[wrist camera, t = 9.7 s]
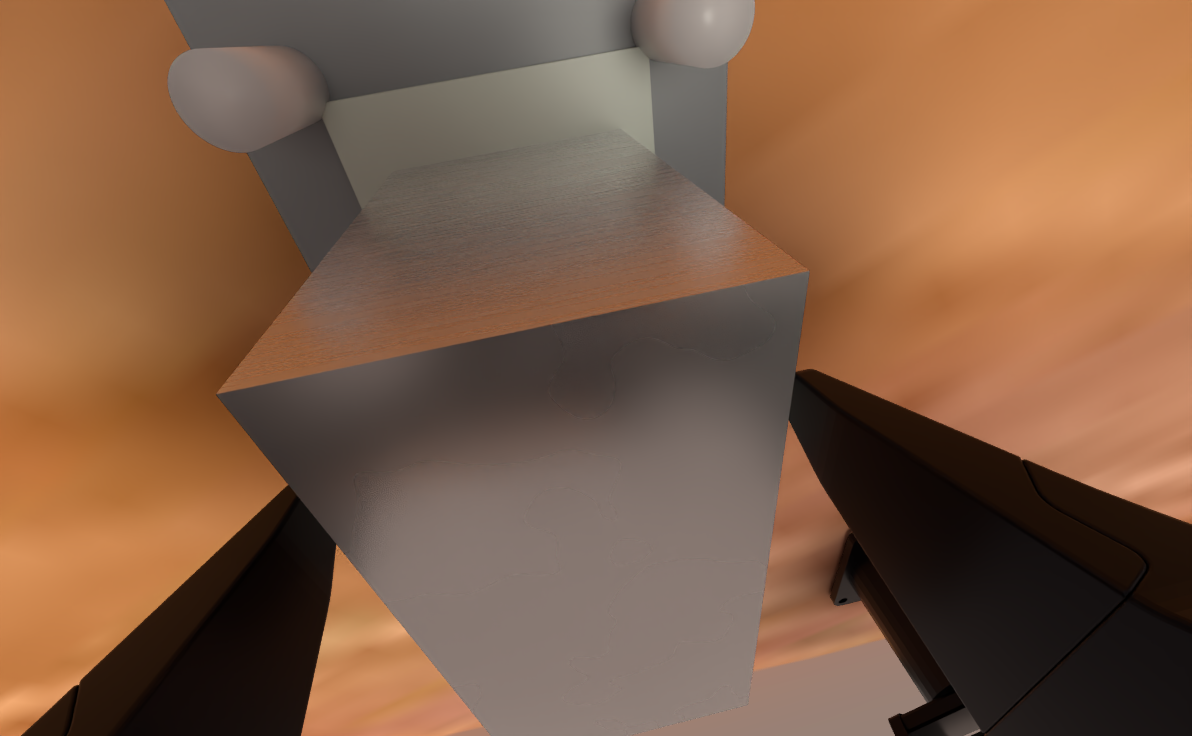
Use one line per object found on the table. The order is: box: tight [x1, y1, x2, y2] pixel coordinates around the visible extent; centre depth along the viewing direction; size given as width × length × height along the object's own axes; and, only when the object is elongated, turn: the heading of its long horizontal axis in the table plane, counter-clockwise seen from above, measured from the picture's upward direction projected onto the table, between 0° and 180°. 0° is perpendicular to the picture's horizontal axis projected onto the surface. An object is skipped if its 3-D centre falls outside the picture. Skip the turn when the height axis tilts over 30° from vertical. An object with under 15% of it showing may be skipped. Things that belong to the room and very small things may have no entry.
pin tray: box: [164, 0, 755, 272], centre depth 12 cm, size 15×9×4 cm, turn 8°
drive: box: [216, 129, 810, 736], centre depth 9 cm, size 9×5×7 cm, turn 8°
